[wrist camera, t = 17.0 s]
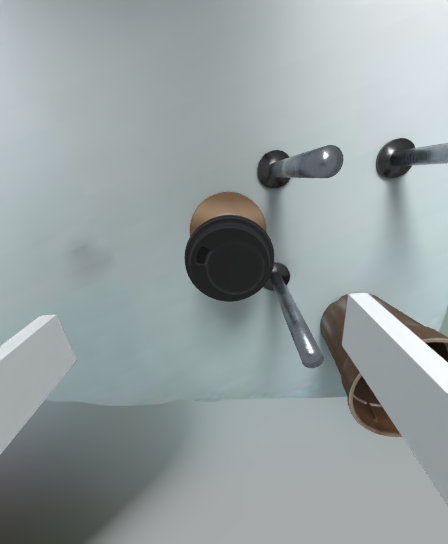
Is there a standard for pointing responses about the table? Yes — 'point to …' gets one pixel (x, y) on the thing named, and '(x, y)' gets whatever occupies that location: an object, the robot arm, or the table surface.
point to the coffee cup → (229, 257)
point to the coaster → (226, 209)
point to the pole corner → (299, 165)
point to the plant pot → (356, 387)
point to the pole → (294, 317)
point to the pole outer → (408, 157)
